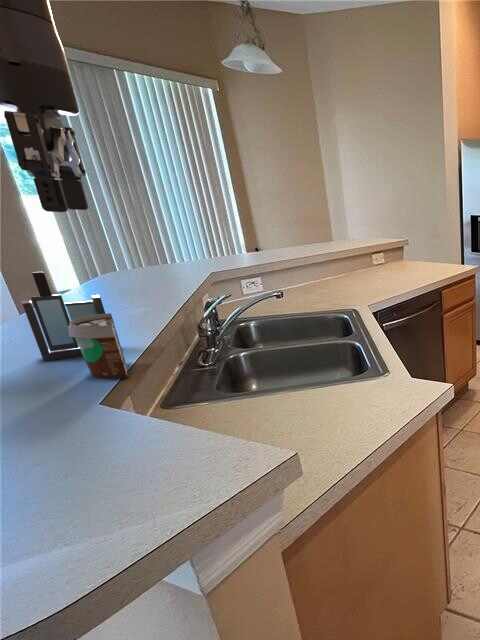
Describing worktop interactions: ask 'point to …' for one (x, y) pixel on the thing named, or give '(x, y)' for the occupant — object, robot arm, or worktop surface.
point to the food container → (99, 345)
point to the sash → (52, 316)
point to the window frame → (75, 312)
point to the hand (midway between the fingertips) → (67, 210)
